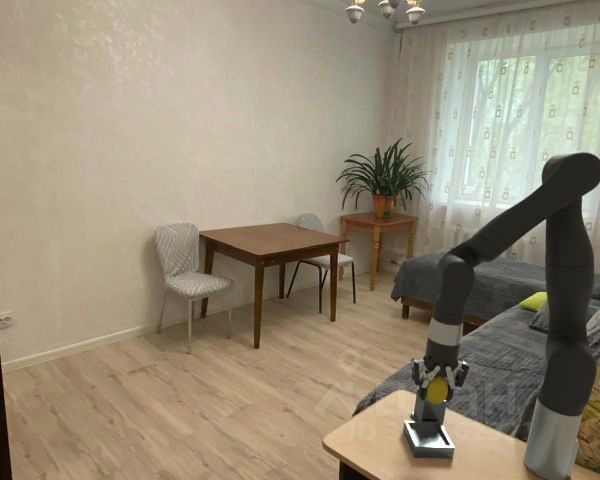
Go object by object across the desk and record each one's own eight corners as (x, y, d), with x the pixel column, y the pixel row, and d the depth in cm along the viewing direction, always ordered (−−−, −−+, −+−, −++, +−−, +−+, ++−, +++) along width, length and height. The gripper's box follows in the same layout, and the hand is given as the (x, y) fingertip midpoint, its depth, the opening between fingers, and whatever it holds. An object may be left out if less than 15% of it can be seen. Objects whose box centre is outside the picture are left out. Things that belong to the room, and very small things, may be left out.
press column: (435, 415, 119) (439, 387, 117) (444, 432, 112) (449, 402, 110) (410, 414, 119) (415, 386, 117) (418, 431, 112) (423, 401, 110)
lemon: (430, 395, 108) (435, 366, 107) (449, 406, 104) (454, 377, 102) (417, 401, 105) (421, 373, 103) (436, 413, 101) (441, 383, 99)
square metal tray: (438, 432, 112) (440, 422, 111) (452, 459, 103) (454, 447, 102) (403, 431, 112) (404, 420, 111) (414, 457, 102) (415, 446, 102)
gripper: (467, 331, 105) (456, 391, 108) (410, 328, 104) (401, 389, 108) (481, 345, 97) (468, 410, 101) (420, 342, 96) (410, 407, 100)
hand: (434, 399), depth 104 cm, fingers closed on lemon, 5 cm apart
